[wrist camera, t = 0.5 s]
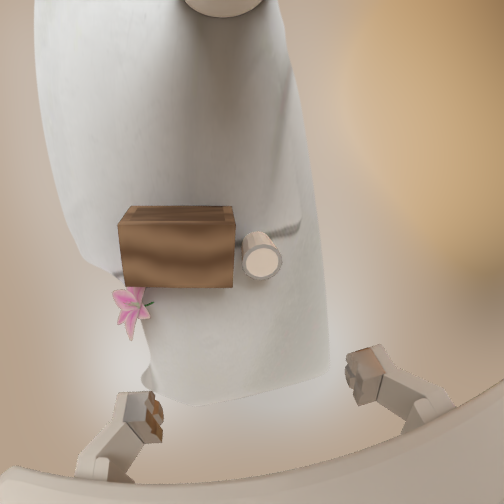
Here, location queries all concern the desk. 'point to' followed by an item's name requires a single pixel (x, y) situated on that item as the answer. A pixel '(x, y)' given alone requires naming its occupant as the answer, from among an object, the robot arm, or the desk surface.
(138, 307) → the lily
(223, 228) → the walnut shelf
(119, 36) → the desk surface
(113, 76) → the desk surface
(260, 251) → the cream tapered cup
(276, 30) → the desk surface
